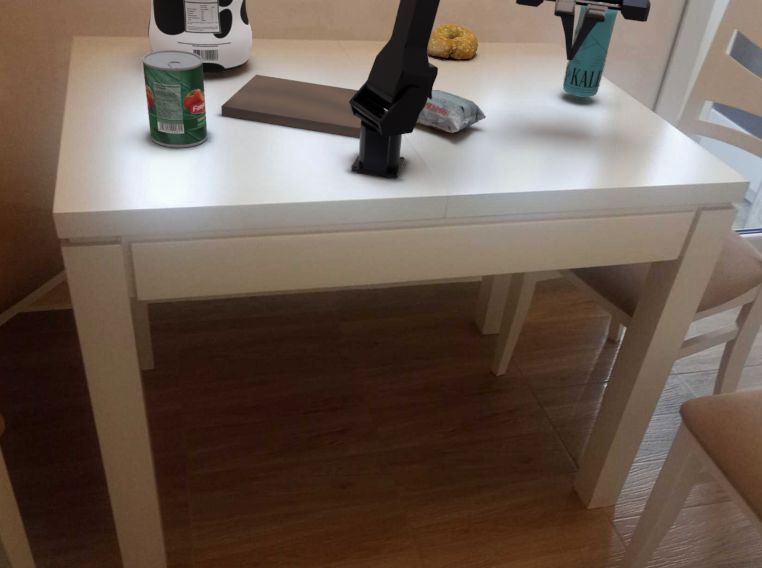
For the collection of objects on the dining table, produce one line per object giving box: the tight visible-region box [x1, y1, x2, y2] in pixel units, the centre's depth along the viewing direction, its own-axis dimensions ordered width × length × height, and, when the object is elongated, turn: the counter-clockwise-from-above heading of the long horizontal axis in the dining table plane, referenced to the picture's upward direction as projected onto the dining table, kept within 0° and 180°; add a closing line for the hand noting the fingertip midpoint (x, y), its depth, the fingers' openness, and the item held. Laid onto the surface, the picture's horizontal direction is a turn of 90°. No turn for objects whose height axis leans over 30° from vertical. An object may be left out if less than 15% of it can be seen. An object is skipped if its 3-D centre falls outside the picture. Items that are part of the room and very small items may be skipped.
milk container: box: [147, 0, 253, 74], centre depth 130 cm, size 17×17×18 cm
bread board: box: [220, 74, 361, 139], centre depth 123 cm, size 16×22×2 cm
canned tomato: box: [141, 50, 208, 149], centre depth 107 cm, size 8×8×11 cm
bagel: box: [427, 23, 479, 60], centre depth 153 cm, size 10×11×5 cm
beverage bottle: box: [562, 5, 619, 98], centre depth 133 cm, size 6×7×20 cm
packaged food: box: [416, 89, 487, 134], centre depth 121 cm, size 9×12×5 cm
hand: (569, 59), depth 116 cm, fingers closed
